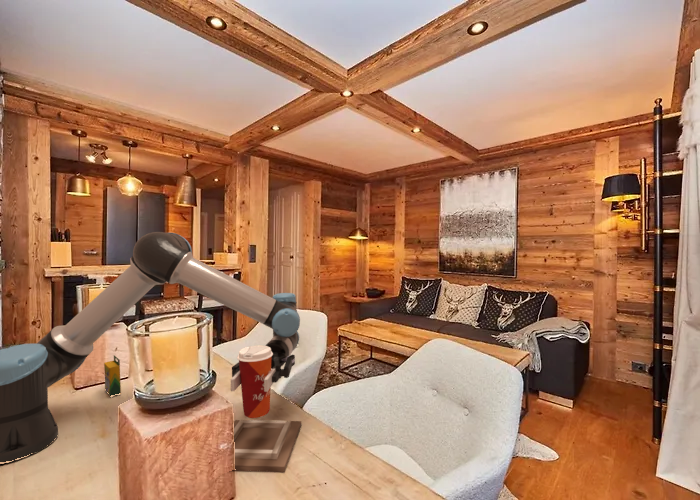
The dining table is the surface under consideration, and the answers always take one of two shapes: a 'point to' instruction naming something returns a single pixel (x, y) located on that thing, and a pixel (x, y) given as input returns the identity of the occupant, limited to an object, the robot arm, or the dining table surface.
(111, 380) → the crayon box
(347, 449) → the dining table surface
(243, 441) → the walnut board
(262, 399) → the coffee cup
